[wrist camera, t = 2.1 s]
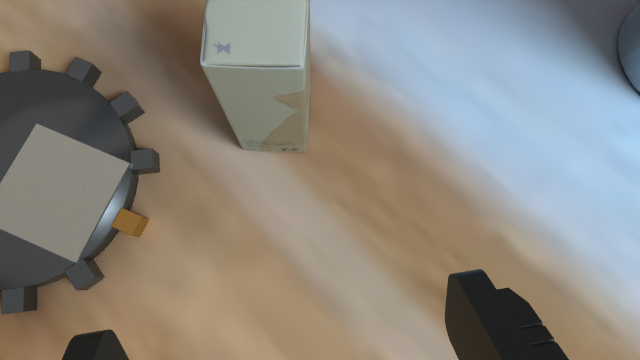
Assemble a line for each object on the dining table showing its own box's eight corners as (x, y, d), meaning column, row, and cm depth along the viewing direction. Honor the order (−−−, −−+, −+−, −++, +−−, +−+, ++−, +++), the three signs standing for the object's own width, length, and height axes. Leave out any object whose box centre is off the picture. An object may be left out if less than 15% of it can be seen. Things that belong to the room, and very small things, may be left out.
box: (306, 154, 28) (304, 76, 17) (240, 151, 28) (195, 70, 17) (311, 79, 29) (311, -39, 18) (246, 75, 29) (209, -45, 18)
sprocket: (-12, 25, 29) (-28, 13, 28) (202, 114, 28) (197, 106, 27) (-161, 247, 26) (-187, 245, 25) (77, 357, 25) (64, 362, 23)
